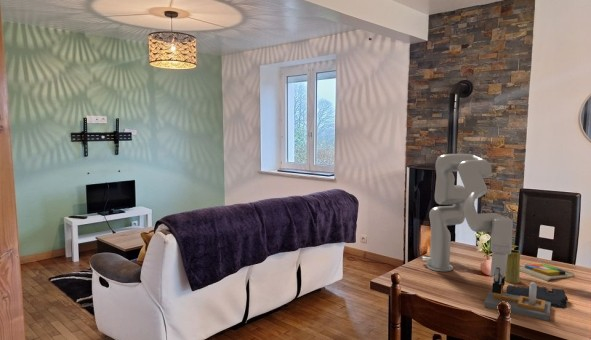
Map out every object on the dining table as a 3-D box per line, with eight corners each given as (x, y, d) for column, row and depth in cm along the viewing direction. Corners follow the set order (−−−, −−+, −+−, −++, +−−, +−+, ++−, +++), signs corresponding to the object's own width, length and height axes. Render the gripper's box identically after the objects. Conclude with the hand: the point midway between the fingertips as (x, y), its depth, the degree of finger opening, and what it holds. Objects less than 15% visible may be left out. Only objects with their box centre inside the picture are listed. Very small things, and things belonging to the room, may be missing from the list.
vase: (521, 284, 187) (523, 253, 186) (506, 283, 188) (508, 252, 187) (517, 279, 193) (518, 249, 191) (503, 278, 194) (504, 248, 193)
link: (492, 300, 164) (492, 286, 163) (495, 293, 171) (496, 279, 171) (543, 311, 154) (544, 296, 153) (545, 303, 161) (546, 288, 161)
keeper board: (484, 306, 163) (485, 279, 162) (489, 294, 175) (491, 269, 174) (548, 320, 151) (550, 291, 150) (550, 307, 163) (552, 279, 162)
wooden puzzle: (575, 277, 197) (575, 270, 196) (547, 282, 190) (548, 275, 189) (541, 266, 213) (541, 259, 213) (515, 270, 206) (515, 264, 205)
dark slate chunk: (505, 288, 183) (505, 277, 183) (562, 296, 174) (563, 285, 174) (507, 301, 169) (507, 290, 169) (570, 310, 160) (570, 299, 160)
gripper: (493, 241, 174) (491, 280, 176) (487, 252, 159) (484, 294, 161) (513, 244, 170) (511, 284, 172) (508, 255, 155) (505, 298, 157)
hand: (498, 288), depth 166 cm, fingers open, 9 cm apart
